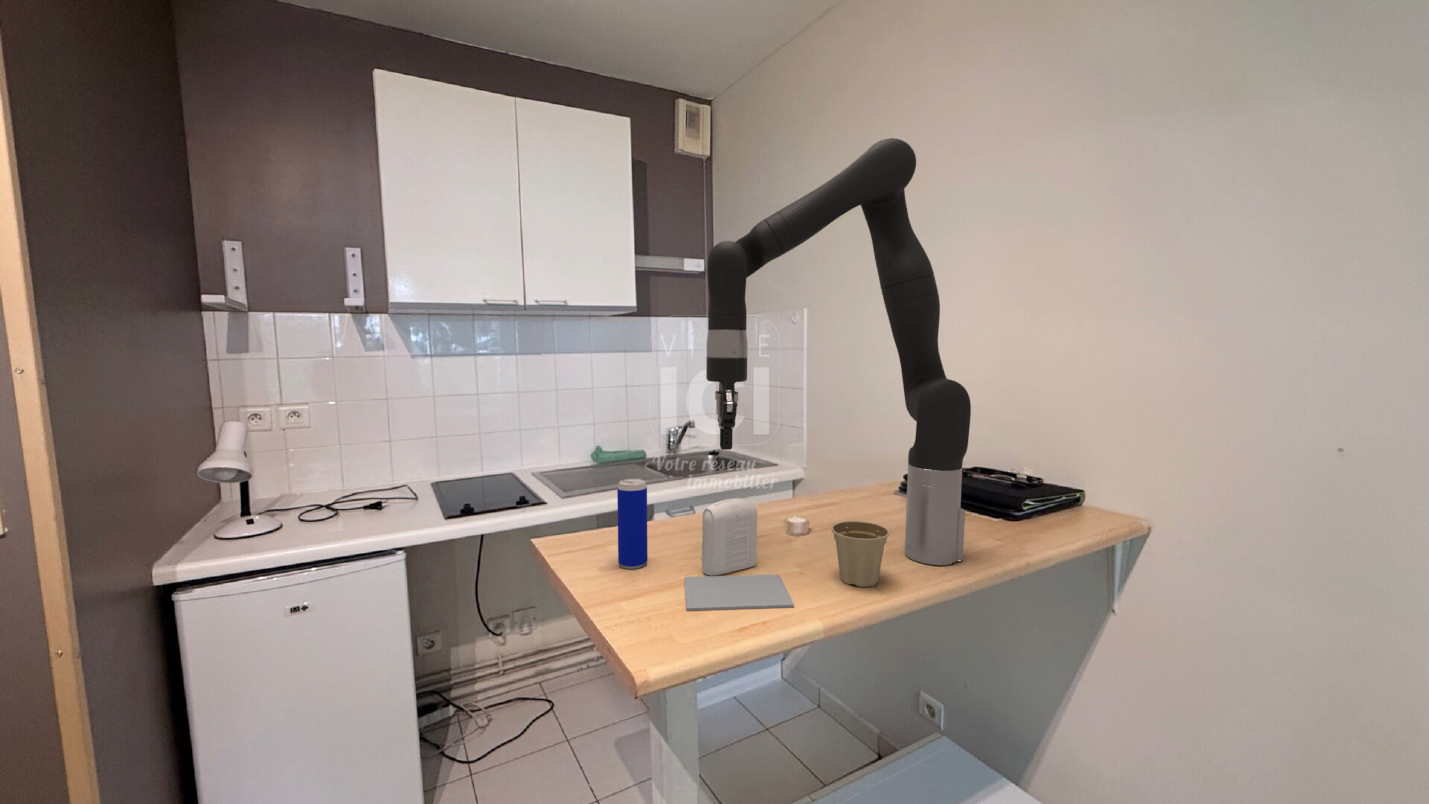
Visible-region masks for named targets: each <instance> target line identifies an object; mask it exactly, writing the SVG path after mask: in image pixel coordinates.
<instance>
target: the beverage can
mask: <svg viewBox="0 0 1429 804" xmlns="http://www.w3.org/2000/svg"><path fill="white" fill-rule="evenodd" d="M616 488H617V489H616V490H617V491H616V492H617V496H616V497H617V555H618V556H617V560H618V561H617V563H618V564H619V565H620V567H621V568H623V569H627V570H637V569H641V568H643V567H644V566H646V564H647V563H648V559H649V558H648V485H647V482H646V480H644V479H642V478H625V479H621V480H620V481H619V482H618V484H617V487H616Z"/></svg>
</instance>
